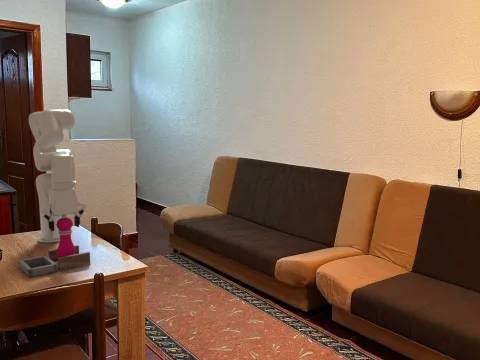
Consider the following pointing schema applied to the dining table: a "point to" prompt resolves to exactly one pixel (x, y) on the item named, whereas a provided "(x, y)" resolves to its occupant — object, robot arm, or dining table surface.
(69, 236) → the pepper mill
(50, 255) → the walled lane
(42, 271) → the tray
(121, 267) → the dining table surface
